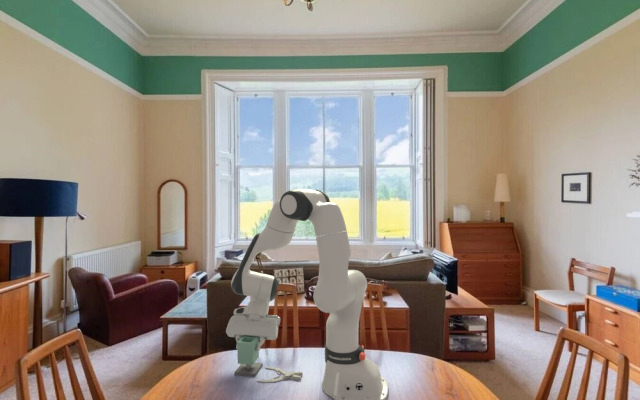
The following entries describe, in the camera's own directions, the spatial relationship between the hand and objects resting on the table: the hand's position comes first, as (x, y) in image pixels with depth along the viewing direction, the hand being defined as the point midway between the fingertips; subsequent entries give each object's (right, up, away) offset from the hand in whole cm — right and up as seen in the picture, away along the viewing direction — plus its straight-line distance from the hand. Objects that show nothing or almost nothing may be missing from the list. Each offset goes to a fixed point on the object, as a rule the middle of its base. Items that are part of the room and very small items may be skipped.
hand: (247, 349), depth 124 cm
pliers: (+13, -9, -4) cm, 16 cm away
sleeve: (0, -4, +1) cm, 4 cm away
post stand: (0, -8, +1) cm, 8 cm away
